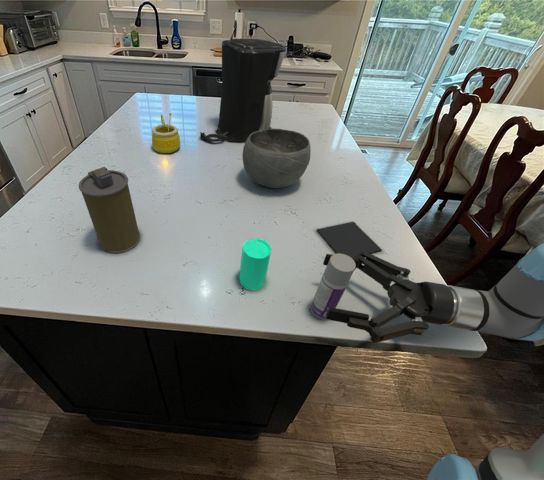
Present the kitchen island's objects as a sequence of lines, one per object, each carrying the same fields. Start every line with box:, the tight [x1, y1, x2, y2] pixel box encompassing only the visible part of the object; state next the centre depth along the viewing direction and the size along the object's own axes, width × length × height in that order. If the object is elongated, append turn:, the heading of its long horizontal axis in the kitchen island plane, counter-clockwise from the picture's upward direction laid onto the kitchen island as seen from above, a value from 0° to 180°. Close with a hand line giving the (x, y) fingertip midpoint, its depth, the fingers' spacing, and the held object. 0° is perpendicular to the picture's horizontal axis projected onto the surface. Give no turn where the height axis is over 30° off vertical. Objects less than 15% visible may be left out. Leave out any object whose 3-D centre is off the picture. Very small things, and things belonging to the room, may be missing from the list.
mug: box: [151, 112, 181, 154], centre depth 112 cm, size 13×11×12 cm
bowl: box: [241, 128, 312, 189], centre depth 95 cm, size 21×21×15 cm
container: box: [309, 253, 356, 321], centre depth 58 cm, size 5×5×15 cm
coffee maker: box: [199, 38, 287, 143], centre depth 116 cm, size 23×32×34 cm
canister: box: [78, 166, 141, 254], centre depth 70 cm, size 11×10×20 cm
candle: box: [238, 237, 272, 291], centre depth 64 cm, size 6×6×12 cm
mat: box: [316, 221, 383, 257], centre depth 79 cm, size 12×12×1 cm
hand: (326, 284), depth 57 cm, fingers open, 13 cm apart
